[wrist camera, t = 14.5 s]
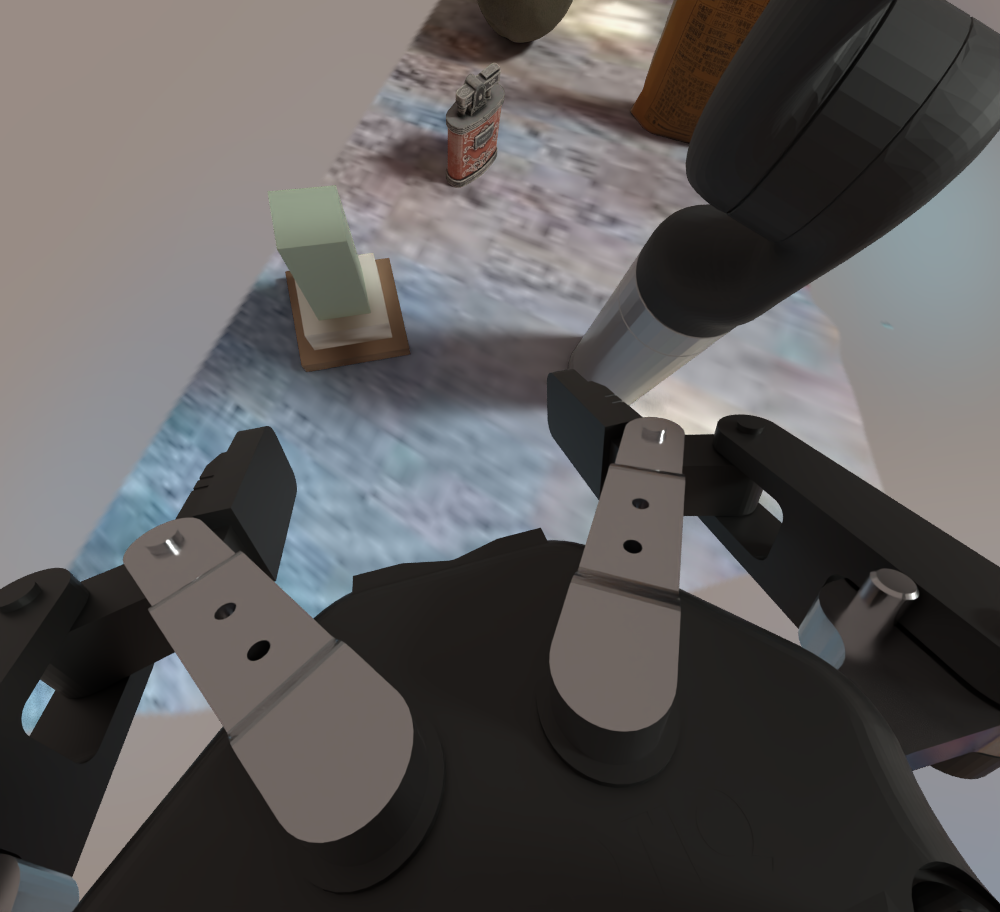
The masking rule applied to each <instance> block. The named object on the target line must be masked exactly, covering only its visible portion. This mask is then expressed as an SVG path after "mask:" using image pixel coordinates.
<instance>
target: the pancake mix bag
mask: <svg viewBox="0 0 1000 912" xmlns="http://www.w3.org/2000/svg"><path fill="white" fill-rule="evenodd" d="M769 2H770V0H674V1H673V4H672V7H671V9H670V12H669V15H668V18H667V21H666V24H665V27H664V30H663V33H662V35H661V38H660V41H659V43H658V46H657V48H656V50H655V53H654V56H653V59H652V62H651V65H650V68H649V71H648V74H647V77H646V80H645V84H644V87H643V90H642V92H641V94H640V95H639V97H638V99H637V100H636V102H635V103H634V105H633V107H632V108H631V110H630V111H631V113H632V114H633V116H634V117H635V118H636V120H637V121H638V122H639V123H640V125H641V126H642V127H643V128H644V129H646V130H647V131H649V132H650V133H652V134H655V135H659V136H663V137H667V138H671V139H675V140H679V141H682V142H686V143H690V141H691V138H692V135H693V132H694V130H695V127H696V125H697V123H698V120H699V118H700V116H701V114H702V112H703V110H704V108H705V106H706V104H707V102H708V100H709V98H710V96H711V95H712V93H713V91H714V89H715V87H716V86H717V84H718V82H719V80H720V79H721V77H722V75H723V73H724V72H725V70H726V68H727V67H728V65H729V64H730V62H731V60H732V59H733V57H734V55H735V54H736V52H737V51H738V49H739V47H740V46H741V44H742V43H743V41H744V40H745V38H746V37H747V35H748V34H749V32H750V31H751V29H752V27H753V26H754V24H755V23H756V21H757V20H758V18H759V17H760V15H761V14H762V12H763V11H764V9H765V8H766V6H767V5H768V3H769Z"/></svg>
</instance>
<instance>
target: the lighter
mask: <svg viewBox="0 0 1000 912" xmlns="http://www.w3.org/2000/svg"><path fill="white" fill-rule="evenodd" d="M500 71H501V69H500V67H499V66H498V65H497V64H496V63H492V64H491V65H489V66H488V67H487V68H486V69H484V70H483V71H482V72H480V73H479V74H478V75H477V76H474V75H473V74H470V75H468V76H467V78H466V80H465V83H464V85H463V86H462V87H461V88H460V89H458V90H457V91H456V102H455V103H454V104H453V106H452V107H451V108H450V109H449V110H448V112H447V114H446V125H447V127H448V167H447V169H446V179H447V181H448V183H449V184H450V185H452V186H453V187H457V188H461V187H463V186H465V185H467V184H469V183H471V182H472V181H474V180H475V179H477V178H478V177H479V176H481V175H482V174H483V173H484V172H485V171H486V170H487V169H488V168H489V167H490V166H491V164H492V163H493V162H494V160H495V159H496V157H497V146H496V144H497V137H498V129H499V121H500V113H501V105H502V104H503V102H504V95H505V93H504V89H503V87H502V86H501V85H499V84H498V82H499V80H500Z"/></svg>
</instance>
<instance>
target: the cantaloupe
mask: <svg viewBox="0 0 1000 912" xmlns="http://www.w3.org/2000/svg"><path fill="white" fill-rule="evenodd" d="M477 1H478V4H479V7H480V9H481V12H482V14H483V15H484V17H485V19H486V20H487V22H488V23H489V25H490V26H491V27H492V29H493V30H494V31H496V32H497V33H498V34H499V35H500V36H503V37H506V38H508V39H509V40H511V41H512V42H518V43H523V42H529V41H533V40H537V39H539V38H541V37H543V36H545V35H546V34H548V33H549V32H550V31H551V30H553V29H554V28H555V27H556V25H557V24H558V23H559V22H560V21H561V20H562V18H563V17H564V16H565V14H566V13H567V11H568V9H569V7H570V5H571V3H572V1H573V0H477Z"/></svg>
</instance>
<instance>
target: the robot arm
mask: <svg viewBox="0 0 1000 912" xmlns="http://www.w3.org/2000/svg"><path fill="white" fill-rule="evenodd" d="M999 130H1000V34H999V33H997V32H996V31H994V30H992V29H991V28H989V27H988V26H986V25H985V24H983V23H982V22H980V21H978V20H977V19H975V18H973V17H970V15H969V14H967V13H965V12H964V11H962V10H960V9H958V8H957V7H956V6H954V5H952V4H951V3H949V2H947V1H946V0H770V2H769V3H768V5H767V6H766V8H765V9H764V11H763V12H762V14H761V15H760V17H759V18H758V20H757V21H756V23H755V24H754V26H753V27H752V29H751V31H750V32H749V34H748V35H747V37H746V38H745V40H744V41H743V43H742V44H741V46H740V47H739V49H738V51H737V52H736V54H735V55H734V57H733V59H732V60H731V62H730V64H729V65H728V67H727V68H726V70H725V72H724V73H723V75H722V77H721V79H720V80H719V82H718V84H717V86H716V87H715V89H714V91H713V93H712V95H711V96H710V98H709V100H708V102H707V104H706V106H705V108H704V110H703V112H702V114H701V116H700V118H699V120H698V123H697V125H696V127H695V130H694V132H693V135H692V138H691V141H690V144H689V148H688V152H687V158H686V174H687V178H688V181H689V183H690V184H691V186H692V187H693V189H694V190H695V191H696V192H697V193H698V194H699V195H700V196H701V197H702V198H703V199H704V200H705V201H707V202H708V203H709V204H710V205H696V206H691V207H687V208H684V209H681V210H679V211H677V212H675V213H673V214H672V215H670V216H669V217H668V218H666V219H665V220H664V221H663V222H662V223H661V224H660V225H659V226H658V227H657V228H656V230H655V231H654V232H653V234H652V235H651V237H650V238H649V240H648V241H647V243H646V244H645V246H644V247H643V249H642V250H641V252H640V253H639V255H638V256H637V258H636V259H635V261H634V262H633V264H632V265H631V267H630V268H629V270H628V271H627V273H626V274H625V276H624V277H623V279H622V280H621V282H620V283H619V285H618V286H617V288H616V289H615V291H614V292H613V294H612V295H611V297H610V298H609V300H608V301H607V302H606V304H605V305H604V307H603V308H602V310H601V311H600V313H599V314H598V316H597V317H596V319H595V320H594V322H593V323H592V325H591V326H590V328H589V329H588V331H587V332H586V334H585V335H584V336H583V338H582V339H581V341H580V342H579V344H578V345H577V347H576V348H575V350H574V352H573V353H572V355H571V357H570V361H569V365H568V370H563V371H558V372H553V373H549V375H548V378H547V411H548V425H549V430H550V433H551V435H552V437H553V438H554V440H555V441H556V443H557V444H558V445H559V447H560V448H561V449H562V451H563V452H564V453H565V455H566V456H567V457H568V459H569V460H570V462H571V463H572V464H573V466H574V467H575V468H576V470H577V471H578V472H579V474H580V475H581V477H582V478H583V479H584V481H585V482H586V483H587V485H588V486H589V487H590V489H591V490H592V491H593V493H594V494H595V496H596V497H597V498H598V500H599V502H598V506H597V509H596V512H595V516H594V519H593V522H592V525H591V529H590V532H589V535H588V539H587V542H586V545H583V544H579V543H575V542H569V541H558V540H547V539H546V537H545V535H544V533H543V531H542V529H541V528H538V529H534V530H530V531H526V532H522V533H518V534H514V535H510V536H507V537H503V538H499V539H496V540H494V541H492V542H490V543H488V544H486V545H484V546H482V547H480V548H478V549H476V550H473V551H471V552H469V553H467V554H465V555H463V556H461V557H459V558H457V559H454V560H450V561H436V562H419V563H402V564H398V565H394V566H390V567H386V568H382V569H379V570H375V571H371V572H367V573H363V574H359V575H355V576H353V589H352V592H351V593H349V594H347V595H345V596H344V597H342V598H340V599H339V600H337V601H335V602H334V603H332V604H331V605H330V606H328V607H327V608H325V609H324V610H323V611H322V612H320V613H319V614H318V615H317V616H316V617H315V618H312V617H311V616H310V615H309V614H308V613H307V612H306V611H304V610H303V609H302V608H301V607H300V606H299V605H298V604H297V603H296V602H295V601H294V600H293V599H292V598H291V597H290V596H289V595H287V594H286V593H285V592H284V591H283V590H282V589H281V588H280V587H279V586H278V585H277V584H276V583H275V582H274V581H276V578H277V574H278V570H279V565H280V561H281V557H282V553H283V548H284V544H285V540H286V536H287V531H288V527H289V523H290V519H291V514H292V510H293V506H294V502H295V497H296V493H297V485H296V479H295V476H294V473H293V470H292V468H291V466H290V464H289V462H288V460H287V458H286V455H285V453H284V451H283V449H282V447H281V445H280V443H279V440H278V438H277V436H276V434H275V432H274V431H273V429H272V428H271V427H269V426H265V427H260V428H255V429H249V430H244V431H239V432H237V434H236V435H235V437H234V439H233V441H232V443H231V445H230V447H229V449H228V450H227V452H224V453H221V454H220V455H219V456H217V457H216V458H215V459H214V460H213V461H211V462H210V463H209V464H208V465H207V466H206V468H205V469H204V471H203V473H202V474H201V476H200V480H199V481H197V483H196V485H195V486H194V488H193V489H194V491H192V492H191V493H190V495H189V497H188V498H187V500H186V502H185V504H184V505H183V507H182V509H181V511H180V512H179V514H178V516H177V517H176V519H175V520H172V521H169V522H166V523H164V524H161V525H159V526H157V527H155V528H153V529H151V530H150V531H148V532H146V533H145V534H143V535H142V536H141V537H139V538H138V539H137V540H136V541H135V542H133V543H132V544H131V545H130V547H129V548H128V549H127V551H126V552H125V554H124V557H123V563H124V564H123V565H121V566H118V567H116V568H113V569H111V570H109V571H106V572H104V573H101V574H99V575H96V576H94V577H91V578H89V579H87V580H84V581H82V582H80V581H78V580H77V579H76V578H75V577H74V576H73V575H72V574H71V573H70V572H69V571H68V570H66V569H63V568H51V569H46V570H42V571H38V572H35V573H33V574H30V575H27V576H25V577H23V578H20V579H18V580H16V581H14V582H12V583H10V584H8V585H7V586H5V587H3V588H2V589H0V912H1000V903H999V902H998V901H997V900H996V899H995V898H994V897H993V896H992V894H991V893H990V892H989V891H988V890H987V889H986V887H985V886H984V885H983V884H982V883H981V882H980V880H979V879H978V878H977V876H976V875H975V874H974V872H973V871H972V870H971V869H970V867H969V866H968V864H967V863H966V861H965V860H964V858H963V857H962V856H961V854H960V853H959V851H958V850H957V848H956V847H955V846H954V844H953V843H952V841H951V840H950V838H949V837H948V835H947V833H946V832H945V830H944V829H943V827H942V825H941V824H940V822H939V820H938V819H937V817H936V816H935V814H934V812H933V811H932V809H931V807H930V806H929V804H928V802H927V800H926V798H925V796H924V794H923V792H922V790H921V789H920V787H919V785H918V783H917V781H916V779H915V777H914V774H913V772H912V771H914V770H917V769H920V768H923V767H926V766H932V767H933V768H935V769H937V770H939V771H942V772H944V773H946V774H949V775H951V776H955V777H959V778H964V779H978V778H981V777H984V776H986V775H987V774H989V773H991V772H992V771H994V770H996V769H997V768H999V767H1000V567H999V566H997V565H995V564H994V563H992V562H991V561H989V560H987V559H986V558H985V557H983V556H981V555H980V554H978V553H977V552H975V551H974V550H972V549H970V548H969V547H967V546H966V545H964V544H963V543H961V542H960V541H958V540H956V539H955V538H953V537H952V536H950V535H949V534H947V533H945V532H944V531H942V530H941V529H939V528H938V527H936V526H934V525H932V524H931V523H930V522H928V521H927V520H925V519H923V518H922V517H920V516H919V515H917V514H916V513H914V512H912V511H911V510H909V509H908V508H906V507H905V506H903V505H902V504H900V503H898V502H897V501H895V500H894V499H892V498H891V497H889V496H887V495H886V494H884V493H883V492H881V491H880V490H878V489H876V488H875V487H873V486H872V485H870V484H869V483H867V482H866V481H864V480H862V479H861V478H859V477H858V476H856V475H855V474H853V473H851V472H850V471H848V470H847V469H845V468H844V467H842V466H840V465H839V464H837V463H836V462H834V461H833V460H831V459H829V458H828V457H826V456H825V455H823V454H822V453H820V452H819V451H817V450H815V449H814V448H812V447H811V446H809V445H808V444H806V443H804V442H803V441H801V440H800V439H798V438H797V437H795V436H793V435H792V434H790V433H789V432H787V431H786V430H784V429H782V428H781V427H779V426H778V425H776V424H775V423H773V422H771V421H769V420H766V419H764V418H760V417H757V416H751V415H740V414H739V415H729V416H726V417H723V418H721V419H720V420H719V421H718V423H717V426H716V430H715V434H703V435H685V433H684V430H683V429H682V428H681V427H680V426H679V425H678V424H676V423H675V422H672V421H670V420H667V419H663V418H657V417H642V416H641V415H639V414H638V413H637V412H636V411H635V410H633V409H632V408H631V407H630V406H629V405H631V404H632V403H633V402H635V401H636V400H637V399H639V398H640V397H641V396H643V395H644V394H646V393H647V392H649V391H650V390H651V389H653V388H654V387H655V386H657V385H658V384H659V383H661V382H662V381H663V380H665V379H666V378H668V377H669V376H670V375H672V374H673V373H674V372H676V371H677V370H678V369H680V368H681V367H682V366H684V365H685V364H687V363H688V362H689V361H691V360H692V359H693V358H695V357H696V356H697V355H699V354H700V353H701V352H703V351H704V350H706V349H707V348H708V347H709V346H711V345H712V344H713V343H715V342H716V341H717V340H719V339H720V338H722V337H723V336H724V335H726V334H727V333H728V332H730V331H731V330H732V329H734V328H735V327H736V326H738V325H742V324H745V323H748V322H750V321H752V320H754V319H755V318H757V317H759V316H760V315H762V314H763V313H765V312H766V311H768V310H769V309H771V308H772V307H774V306H775V305H777V304H778V303H780V302H781V301H783V300H784V299H786V298H787V297H789V296H791V295H792V294H794V293H795V292H797V291H798V290H800V289H801V288H803V287H805V286H806V285H808V284H809V283H811V282H813V281H814V280H816V279H817V278H819V277H821V276H822V275H824V274H825V273H827V272H829V271H830V270H832V269H833V268H835V267H837V266H838V265H839V264H842V263H843V262H845V261H846V260H848V259H849V258H851V257H852V256H854V255H855V254H857V253H858V252H860V251H861V250H863V249H864V248H866V247H867V246H869V245H870V244H872V243H873V242H875V241H876V240H878V239H879V238H881V237H883V236H884V235H885V234H886V233H888V232H889V231H891V230H892V229H893V228H895V227H896V226H898V225H899V224H900V223H902V222H903V221H904V220H905V219H907V218H908V217H909V216H911V215H912V214H913V213H915V212H916V211H917V210H919V209H920V208H921V207H922V206H924V205H925V204H926V203H927V202H929V201H930V200H931V199H932V198H933V197H935V196H936V195H937V194H938V193H939V192H940V191H941V190H942V189H944V188H945V187H946V186H947V185H948V184H949V183H950V182H951V181H952V180H953V179H954V178H955V177H957V175H959V174H960V173H961V172H962V171H963V170H964V169H965V168H966V167H967V166H968V165H969V164H970V163H971V162H972V161H973V160H974V159H975V158H976V157H977V156H978V155H979V154H980V153H981V151H982V150H983V149H984V148H985V147H986V145H988V143H989V142H990V141H991V140H992V138H993V137H994V136H995V135H996V134H997V132H998V131H999ZM763 490H764V491H765V492H767V493H768V494H769V495H770V496H771V497H773V498H774V499H775V500H776V501H777V502H778V504H779V505H780V507H781V509H782V513H783V522H782V523H781V522H780V521H779V520H778V519H777V518H776V517H774V516H773V515H772V514H771V513H770V512H769V511H768V510H767V509H765V508H764V507H763V506H762V505H761V504H760V503H759V499H760V496H761V494H762V491H763ZM683 516H698V517H699V518H700V520H701V521H702V522H703V523H704V524H705V525H706V526H707V527H708V529H709V530H710V531H711V532H712V533H713V534H714V535H715V536H716V537H717V539H718V540H719V541H720V542H721V543H722V544H723V545H724V546H725V547H726V549H727V550H728V551H729V552H730V553H731V554H732V555H733V556H734V558H735V559H736V560H737V561H738V562H739V563H740V564H741V565H742V566H743V568H744V569H745V570H746V571H747V572H748V573H749V574H750V575H751V576H752V578H753V579H754V580H755V581H756V582H757V583H758V584H759V585H760V586H761V588H762V589H763V590H764V591H765V592H766V593H767V594H768V595H769V597H770V598H771V599H772V600H773V601H774V602H775V603H776V604H777V605H778V607H779V608H780V609H782V611H783V612H784V613H785V614H786V615H787V617H788V618H789V619H790V620H791V621H792V622H793V623H794V624H795V626H796V627H797V628H798V629H799V631H798V635H799V641H800V644H801V646H802V647H801V646H799V645H797V644H795V643H792V642H790V641H788V640H786V639H784V638H782V637H780V636H778V635H776V634H774V633H771V632H769V631H767V630H765V629H763V628H761V627H759V626H757V625H755V624H753V623H751V622H749V621H746V620H744V619H742V618H740V617H738V616H736V615H734V614H732V613H730V612H728V611H725V610H723V609H721V608H719V607H717V606H715V605H713V604H711V603H709V602H707V601H705V600H702V599H700V598H698V597H696V596H694V595H692V594H690V593H688V592H686V591H684V590H681V589H679V580H680V562H681V545H682V528H683ZM174 652H175V653H176V654H177V656H178V657H179V659H180V660H181V662H182V663H183V665H184V666H185V668H186V670H187V671H188V673H189V674H190V676H191V677H192V679H193V680H194V682H195V683H196V685H197V687H198V688H199V690H200V691H201V693H202V694H203V696H204V697H205V699H206V700H207V702H208V704H209V705H210V707H211V708H212V710H213V711H214V713H215V714H216V716H217V717H218V719H219V721H220V722H221V724H222V725H223V727H222V728H221V729H220V731H219V732H218V733H217V734H216V736H215V737H214V738H213V739H212V740H211V742H210V743H209V744H208V745H207V747H206V748H205V749H204V750H203V752H202V753H201V754H200V755H199V756H198V758H197V759H196V760H195V761H194V762H193V764H192V765H191V766H190V767H189V769H188V770H187V771H186V772H185V774H184V775H183V776H182V777H181V778H180V780H179V781H178V782H177V783H176V785H175V786H174V787H173V788H172V789H171V791H170V792H169V793H168V795H166V797H165V798H164V799H163V800H162V802H161V803H160V804H159V805H158V806H157V808H156V809H155V810H154V811H153V813H152V814H151V815H150V816H149V817H148V819H147V820H146V821H145V822H144V823H143V825H142V826H141V827H140V828H139V830H138V831H137V832H136V833H135V835H134V836H133V837H132V838H131V839H130V841H129V842H128V843H127V844H126V845H125V847H124V848H123V849H122V850H121V852H120V853H119V854H118V855H117V856H116V858H115V859H114V860H113V861H112V863H111V864H110V865H109V866H108V867H107V869H106V870H105V871H104V872H103V874H102V875H101V876H100V877H99V878H98V880H97V881H96V882H95V883H94V885H93V886H92V887H91V888H90V889H89V891H88V892H87V893H86V894H85V896H84V897H83V898H82V900H81V901H80V902H79V891H78V887H77V884H76V882H75V880H74V879H73V878H72V876H73V874H74V871H75V868H76V866H77V863H78V861H79V858H80V855H81V853H82V850H83V848H84V845H85V842H86V840H87V837H88V835H89V832H90V829H91V827H92V824H93V822H94V819H95V817H96V814H97V811H98V809H99V806H100V804H101V801H102V798H103V796H104V793H105V791H106V788H107V785H108V783H109V780H110V778H111V775H112V772H113V770H114V767H115V765H116V762H117V759H118V757H119V754H120V751H121V749H122V746H123V744H124V741H125V739H126V736H127V733H128V731H129V728H130V726H131V723H132V720H133V718H134V715H135V713H136V710H137V708H138V705H139V702H140V700H141V697H142V695H143V692H144V689H145V687H146V684H147V682H148V679H149V676H150V674H151V671H152V669H153V666H154V663H155V662H157V661H159V660H161V659H163V658H164V657H166V656H168V655H170V654H172V653H174ZM39 680H42V681H43V682H44V683H46V684H47V685H49V686H50V687H52V688H53V689H55V692H54V694H53V696H52V697H51V699H50V701H49V703H48V704H47V706H46V708H45V710H44V712H43V713H42V715H41V717H40V719H39V720H38V722H37V724H36V726H35V728H34V729H33V731H32V733H31V735H30V736H28V735H27V734H26V733H25V731H24V729H23V727H22V721H21V718H22V711H23V708H24V705H25V703H26V701H27V700H28V698H29V696H30V695H31V693H32V691H33V690H34V688H35V686H36V685H37V683H38V682H39Z"/></svg>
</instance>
